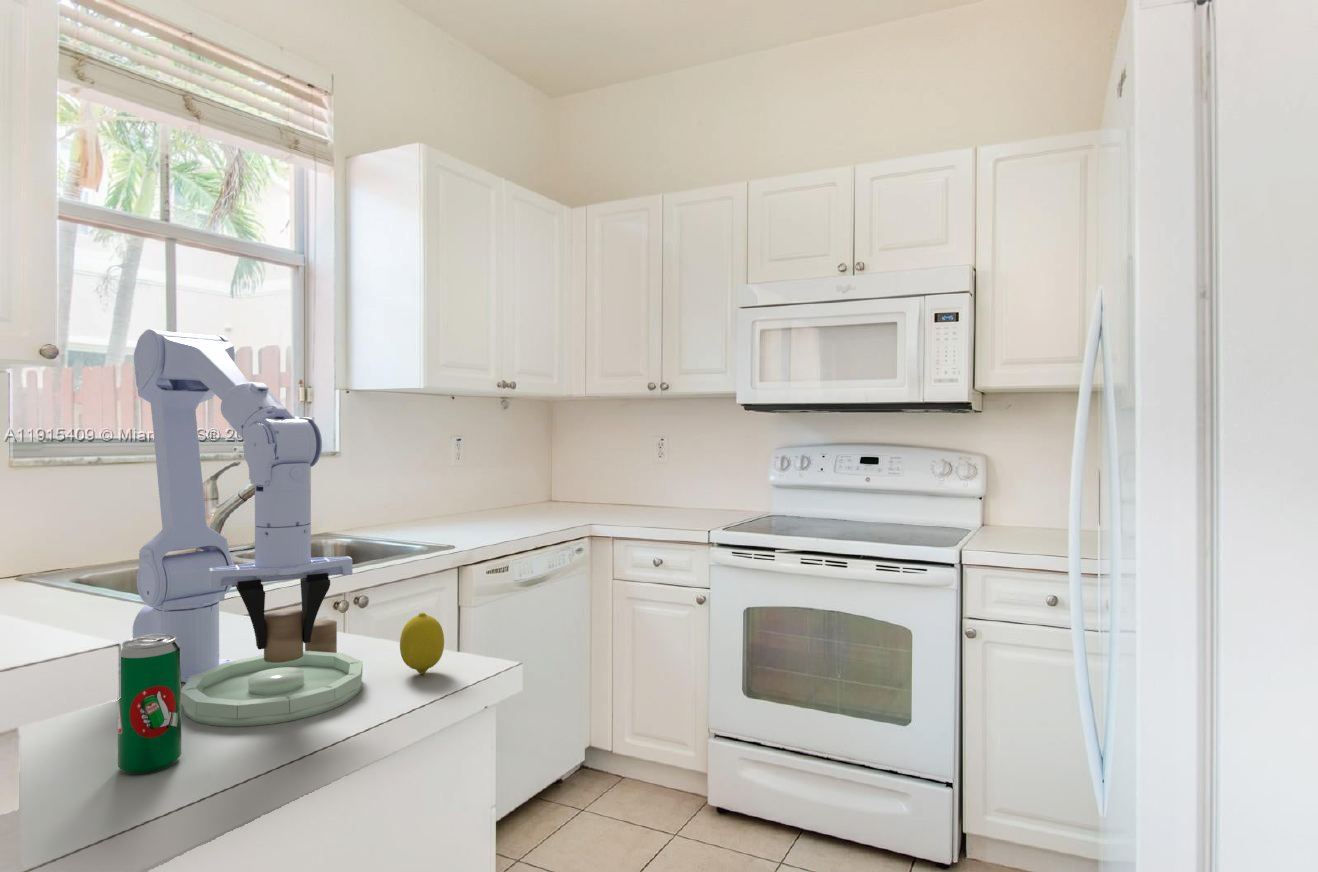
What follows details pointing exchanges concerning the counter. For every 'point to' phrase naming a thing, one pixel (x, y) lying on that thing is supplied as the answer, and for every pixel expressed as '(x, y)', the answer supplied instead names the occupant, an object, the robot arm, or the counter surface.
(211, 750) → the counter surface
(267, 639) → the bead
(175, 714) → the soda can
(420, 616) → the lemon
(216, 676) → the tray
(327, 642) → the bead
